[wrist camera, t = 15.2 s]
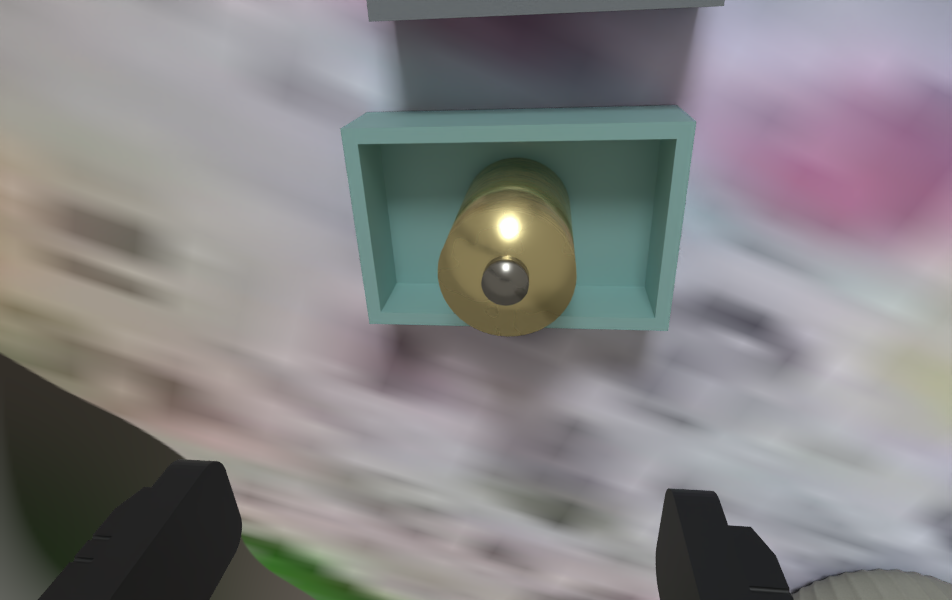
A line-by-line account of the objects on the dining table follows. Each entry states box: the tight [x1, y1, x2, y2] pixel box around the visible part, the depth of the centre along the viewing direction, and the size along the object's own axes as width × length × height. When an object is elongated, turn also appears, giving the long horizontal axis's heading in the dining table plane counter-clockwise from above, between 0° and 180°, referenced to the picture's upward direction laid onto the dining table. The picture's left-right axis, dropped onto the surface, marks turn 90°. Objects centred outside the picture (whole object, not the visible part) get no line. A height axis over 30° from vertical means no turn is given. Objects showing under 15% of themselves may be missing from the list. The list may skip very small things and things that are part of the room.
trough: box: [341, 105, 696, 331], centre depth 25 cm, size 13×9×4 cm, turn 92°
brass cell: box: [438, 158, 577, 336], centre depth 22 cm, size 5×5×8 cm
